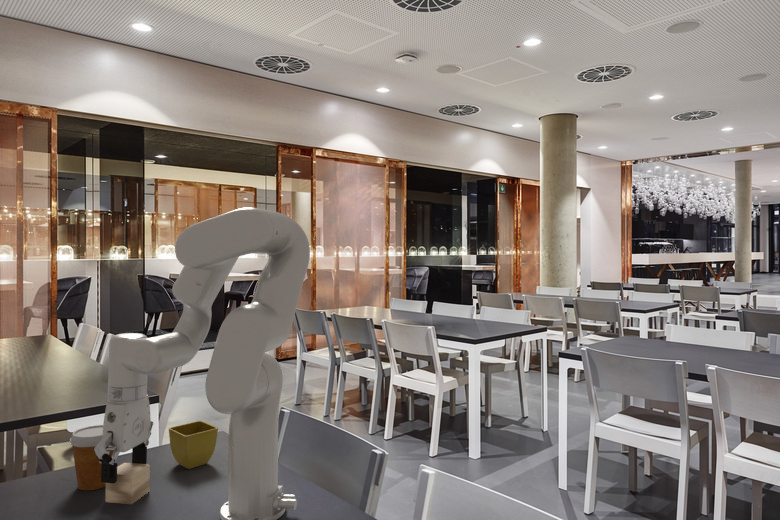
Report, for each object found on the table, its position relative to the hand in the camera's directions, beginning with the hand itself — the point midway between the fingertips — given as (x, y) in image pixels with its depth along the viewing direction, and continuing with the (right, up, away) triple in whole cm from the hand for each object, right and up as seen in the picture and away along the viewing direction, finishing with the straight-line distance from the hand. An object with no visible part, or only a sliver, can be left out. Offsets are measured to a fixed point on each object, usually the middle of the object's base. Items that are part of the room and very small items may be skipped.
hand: (124, 472), depth 113 cm
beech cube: (+1, -5, 0) cm, 5 cm away
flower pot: (+8, -5, +18) cm, 20 cm away
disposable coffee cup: (-10, -5, +6) cm, 12 cm away
